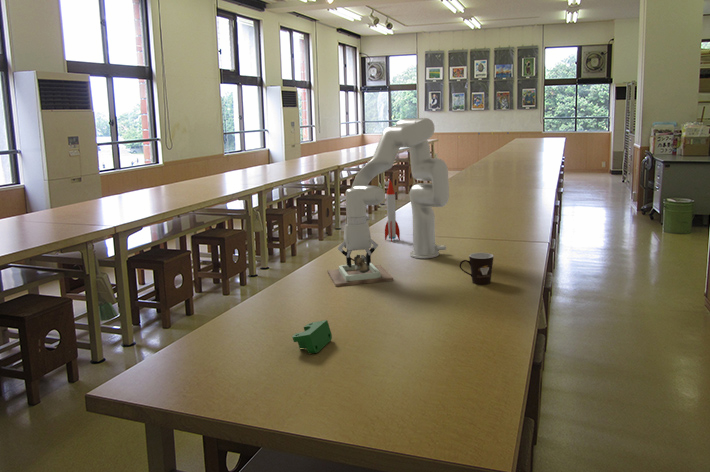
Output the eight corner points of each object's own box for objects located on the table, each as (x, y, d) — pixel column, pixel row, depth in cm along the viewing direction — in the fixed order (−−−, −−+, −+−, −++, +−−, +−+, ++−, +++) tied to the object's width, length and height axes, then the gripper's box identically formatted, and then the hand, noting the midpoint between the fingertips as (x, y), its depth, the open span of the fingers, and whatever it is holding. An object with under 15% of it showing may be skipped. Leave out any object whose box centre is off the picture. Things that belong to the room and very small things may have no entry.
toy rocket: (400, 240, 278) (398, 180, 272) (391, 242, 275) (389, 181, 269) (393, 238, 282) (391, 179, 276) (384, 240, 279) (382, 180, 273)
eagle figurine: (344, 266, 218) (350, 267, 209) (352, 249, 219) (358, 250, 210) (361, 274, 220) (367, 276, 211) (369, 258, 220) (376, 259, 212)
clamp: (315, 355, 158) (312, 323, 160) (333, 352, 156) (330, 320, 158) (291, 355, 148) (289, 321, 150) (311, 352, 145) (308, 317, 148)
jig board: (380, 267, 230) (380, 260, 229) (393, 280, 211) (393, 272, 210) (327, 272, 226) (327, 265, 225) (335, 286, 207) (335, 278, 206)
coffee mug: (494, 279, 206) (494, 253, 204) (492, 286, 198) (492, 258, 196) (462, 278, 209) (462, 252, 207) (459, 284, 201) (458, 257, 199)
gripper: (376, 217, 219) (378, 261, 223) (332, 220, 216) (335, 265, 220) (381, 220, 212) (382, 266, 216) (335, 224, 209) (338, 270, 212)
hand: (358, 265), depth 218 cm, fingers closed on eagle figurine, 6 cm apart
